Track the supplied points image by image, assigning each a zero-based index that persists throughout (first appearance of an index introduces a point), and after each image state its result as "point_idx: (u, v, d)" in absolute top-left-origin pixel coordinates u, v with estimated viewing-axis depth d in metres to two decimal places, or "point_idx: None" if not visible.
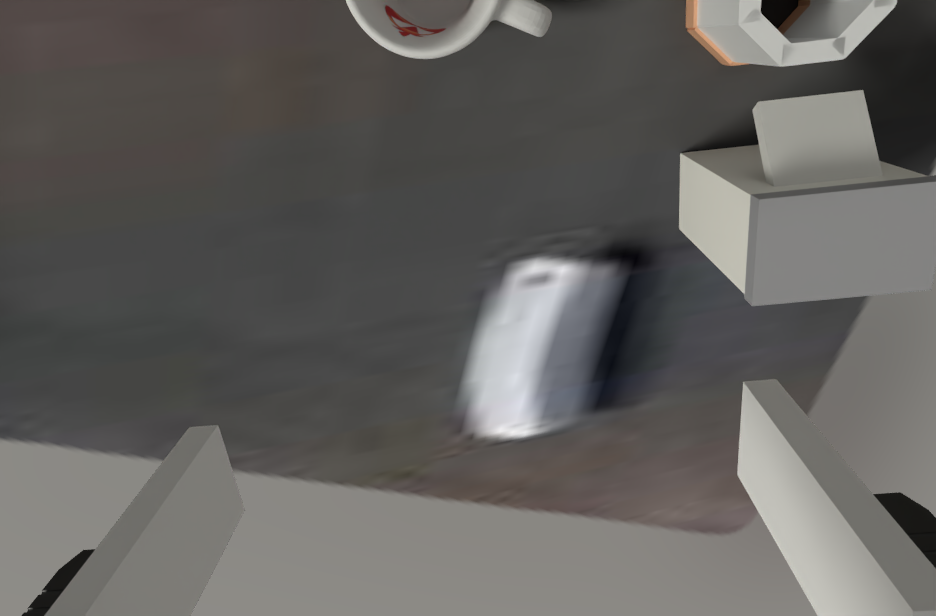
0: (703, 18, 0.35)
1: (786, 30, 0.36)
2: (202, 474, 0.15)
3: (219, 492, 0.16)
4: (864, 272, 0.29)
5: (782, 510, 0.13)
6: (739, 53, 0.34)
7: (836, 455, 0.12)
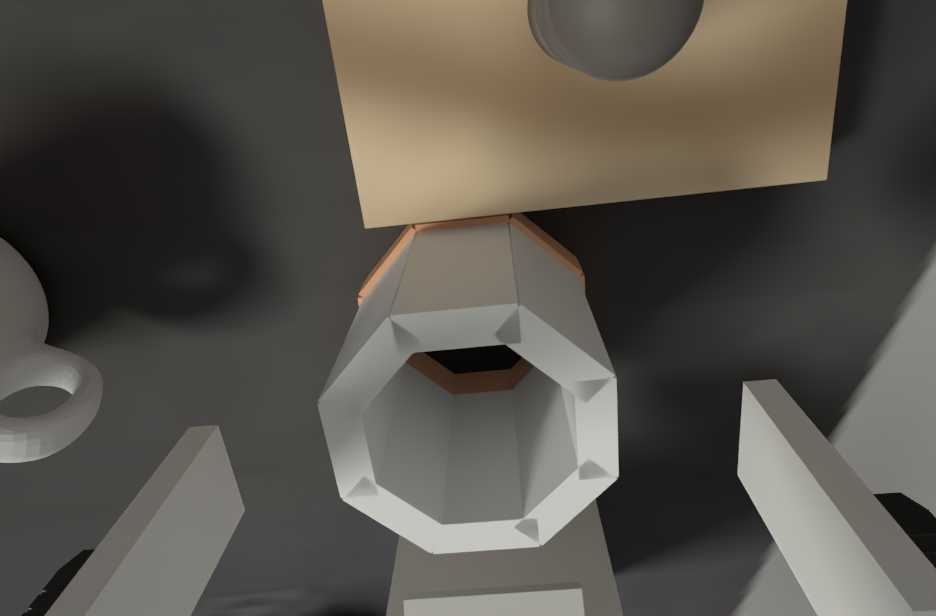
0: None
1: (521, 379, 0.22)
2: (201, 474, 0.15)
3: (219, 492, 0.16)
4: None
5: (781, 510, 0.13)
6: None
7: (836, 455, 0.12)
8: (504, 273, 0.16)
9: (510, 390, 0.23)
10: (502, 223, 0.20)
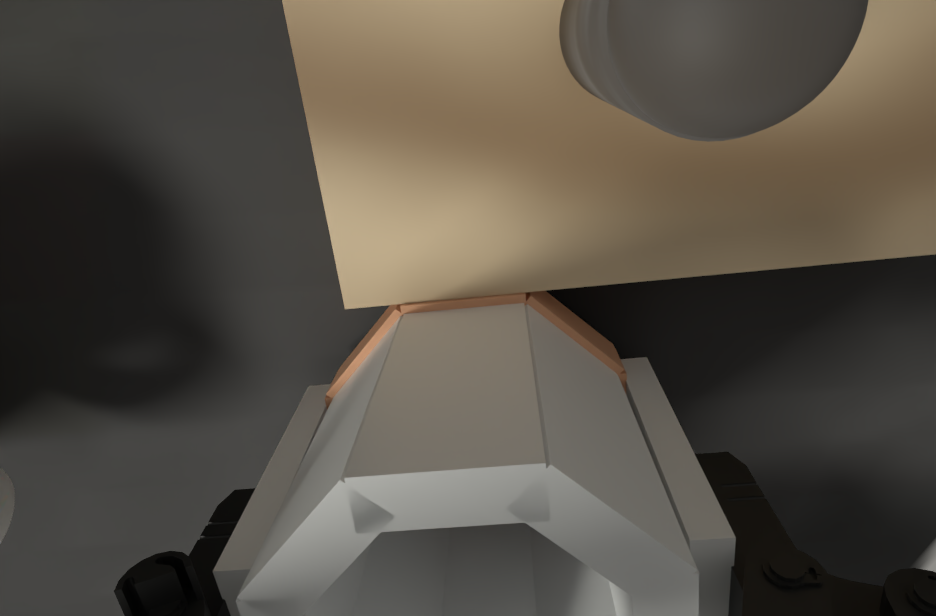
0: None
1: None
2: None
3: None
4: None
5: None
6: None
7: (674, 419, 0.14)
8: (522, 397, 0.11)
9: None
10: (517, 306, 0.15)
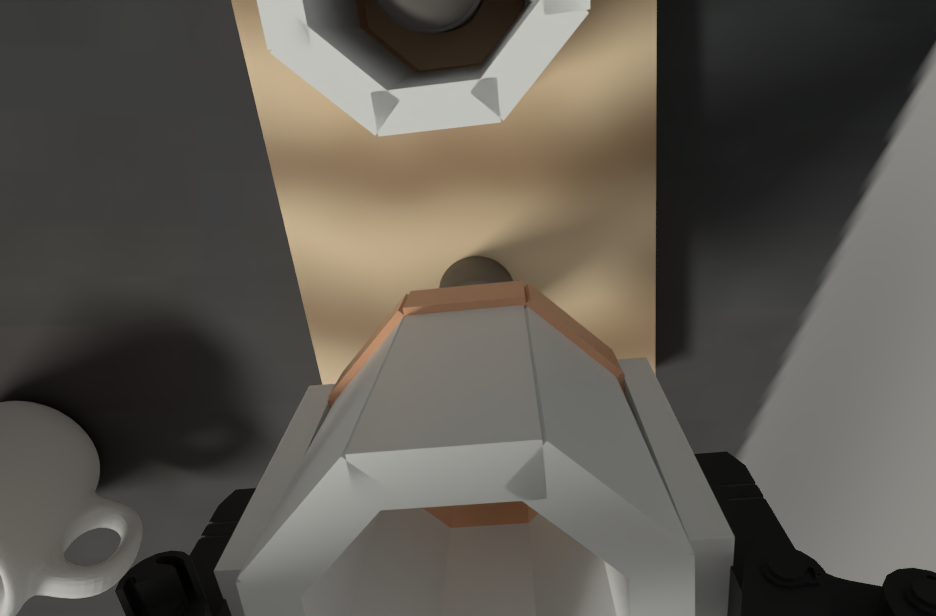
0: None
1: None
2: None
3: None
4: None
5: None
6: None
7: (673, 419, 0.14)
8: (520, 384, 0.11)
9: (526, 523, 0.17)
10: (517, 307, 0.15)
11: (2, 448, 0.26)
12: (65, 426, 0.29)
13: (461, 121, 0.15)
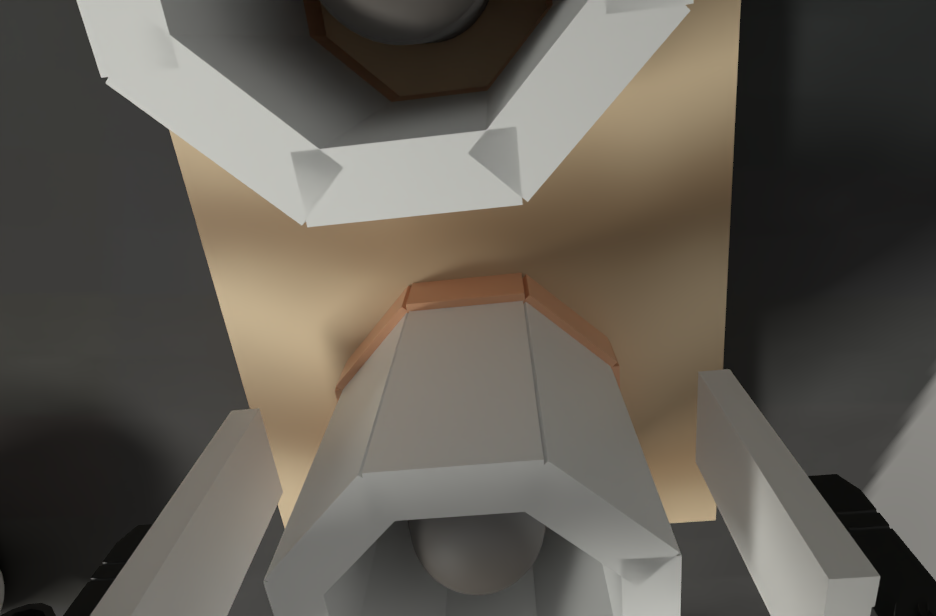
0: None
1: None
2: (246, 455, 0.15)
3: (261, 473, 0.16)
4: None
5: (730, 493, 0.14)
6: None
7: (777, 439, 0.13)
8: (522, 396, 0.12)
9: None
10: (517, 304, 0.16)
11: None
12: None
13: (453, 203, 0.08)
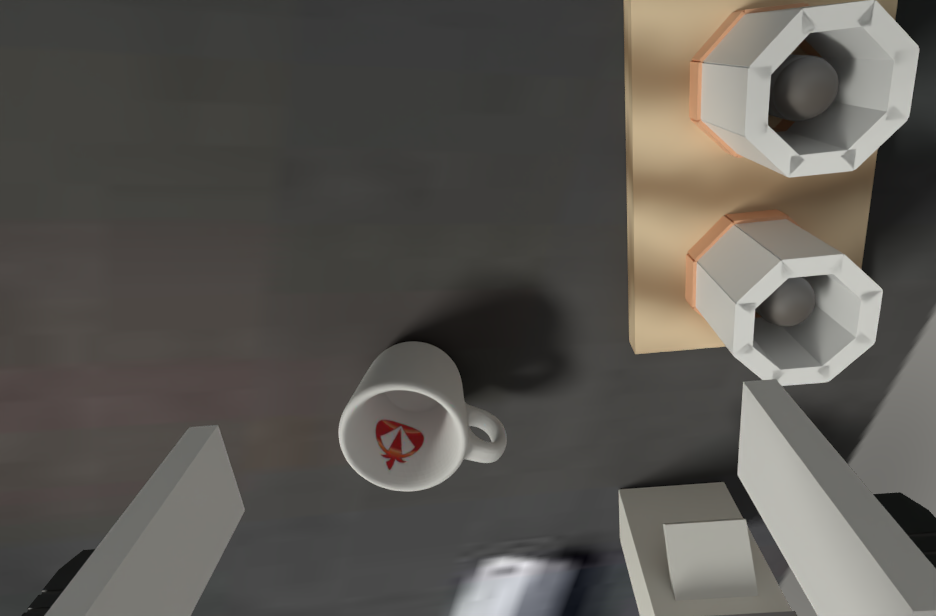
0: (701, 308, 0.38)
1: None
2: (202, 474, 0.15)
3: (219, 492, 0.16)
4: None
5: (781, 510, 0.13)
6: None
7: (836, 455, 0.12)
8: (819, 242, 0.33)
9: None
10: (784, 220, 0.37)
11: (437, 366, 0.41)
12: (449, 357, 0.44)
13: (833, 170, 0.29)
